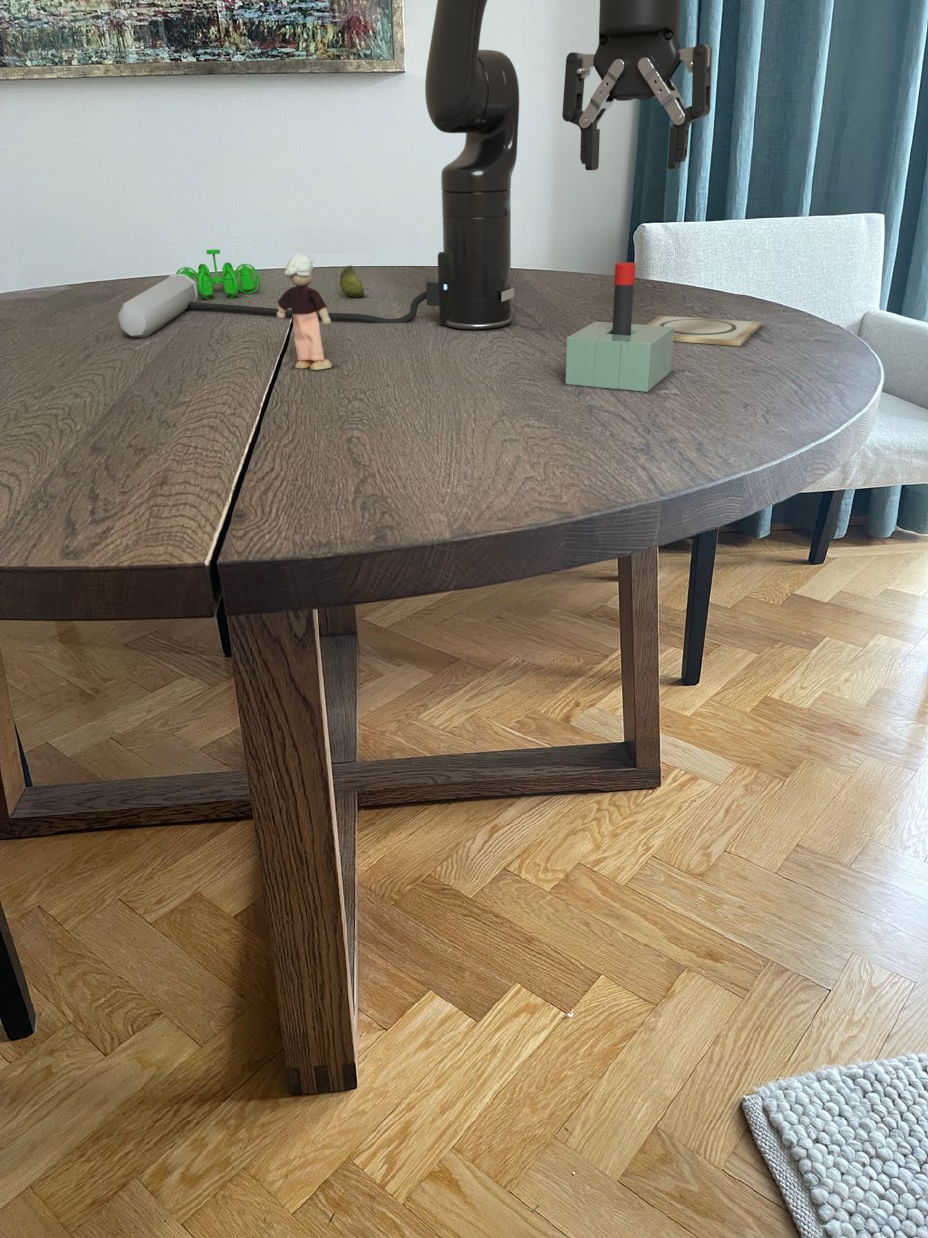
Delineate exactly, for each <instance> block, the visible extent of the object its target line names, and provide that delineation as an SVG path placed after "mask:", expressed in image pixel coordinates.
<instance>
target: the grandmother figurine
mask: <svg viewBox="0 0 928 1238" xmlns="http://www.w3.org/2000/svg"><path fill="white" fill-rule="evenodd" d="M313 263H314V262H313V259H312V258H311V257H310V256H309V255H308V254H307V253H306V254H305V253H296V254H294V255H293V256H292V257H291V258H290V259H289V260H288V261H287V263H286V266H285V269H284V272H283V274H284V276H285V277H288V278H289V279H290V281H291V282H292V284H293V285H295V286H292V287H290V288H288V289H287V290H286V291H285V292H284V293H283V294H282V295H281V296H280V298H279V299H278V300H277V304H278V306H277V309H278V312H277V315H276V317H277V318H278V319H279V320H284V319H285V318H286V316H285V312H286V311H287V310H292V315H293V317H292V327H293V328H292V329H293V339H294V340H293V341H294V345H295V346H294V347H295V351H296V359H297V362H296V363H295V366H294V368H295V369H307V368H309V369H310V370H312V371H320V370H325V369H330V368H332V367H333V364H332V362H331V361H330V360H329V359H327V358H325V354H324V353H325V352H324V348H323V343H322V342H323V341H322V336H321V335H322V334H321V325H320V319H318V315H317V312H319V315H320V317H321V318H322V319H321V323H322V325H323V326H330V325H331V323H332V320H331V319H330V318H329V314H328V313H329V311H328V307H327V305H326V303H325V301H324V300H323V297H322V296H321V294H320V292H318V291H317V290H316V289H314V288H312V287H309V285H310V284H311V283H312V281H313V277H314V274H313V268H314V267H313Z"/></svg>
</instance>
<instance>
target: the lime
mask: <svg viewBox="0 0 928 1238" xmlns="http://www.w3.org/2000/svg"><path fill="white" fill-rule="evenodd" d="M339 277H340V278H339V286H340V289H341V291H342V293H344V294H345V295H346V296H349V297H352V298H362V297H365V290H364V287H363V284H362V282H361V280H360V278H359V276H358V274H357V273H356V270H355V269H354V267H353V265H347V266H346V267H344V268H343V269H342V271H341V272H340V275H339Z"/></svg>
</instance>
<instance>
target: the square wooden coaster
mask: <svg viewBox="0 0 928 1238" xmlns="http://www.w3.org/2000/svg"><path fill="white" fill-rule="evenodd" d="M645 325H652V326H666V327H674V339H673V342H677V343H678V342H679V343H692V344H703V345H704V344H705V345H717V346H718V345H721V346H730V347H731V346H732V347H741V346H742V345H743V344H744V343H746V341H747V340H749V338H750V337H751V336H752V335H754V333H756V332H757V330H758V329H760V328H761V326H762V322H761V321H750V320H749V321H748V320H734V319H733V320H732V319H719V318H701V317H686V316H672V315H659V316H657V317H656V318H654V319H652V320H651V321H649V322H647V323H646V324H645Z"/></svg>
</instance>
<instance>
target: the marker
mask: <svg viewBox="0 0 928 1238" xmlns="http://www.w3.org/2000/svg"><path fill="white" fill-rule="evenodd" d="M614 266H615V267H614V282H613V283H614V293H613V312H612V323H613V329H612V334H615V335H628V336H631V324H633V321H632V320H633V307H634V305H633V304H634V291H635V290H634V289H635V282H636V281H635V280H636V263H635V262H630V261H629V262H626V261H625V262H616V263H615V265H614Z"/></svg>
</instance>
